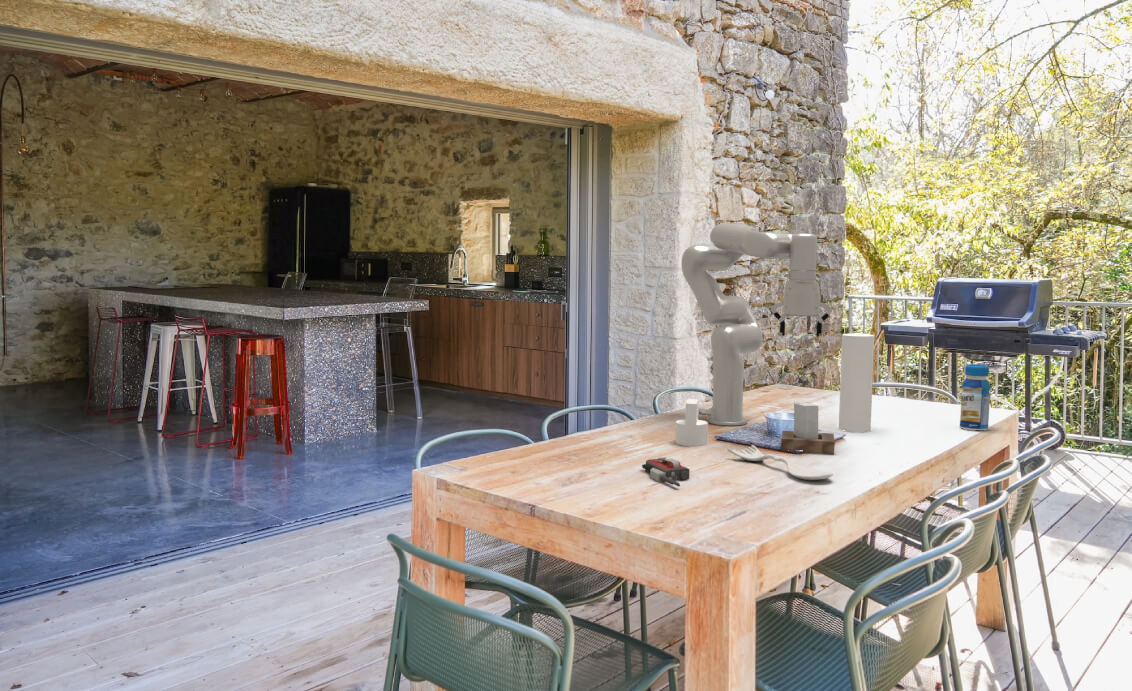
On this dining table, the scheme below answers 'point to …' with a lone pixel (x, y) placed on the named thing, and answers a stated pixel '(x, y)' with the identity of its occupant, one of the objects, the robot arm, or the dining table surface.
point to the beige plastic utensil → (793, 468)
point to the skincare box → (805, 420)
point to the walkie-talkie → (666, 470)
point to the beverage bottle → (975, 398)
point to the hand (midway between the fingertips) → (800, 335)
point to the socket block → (808, 443)
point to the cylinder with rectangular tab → (691, 427)
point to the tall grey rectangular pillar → (856, 382)
